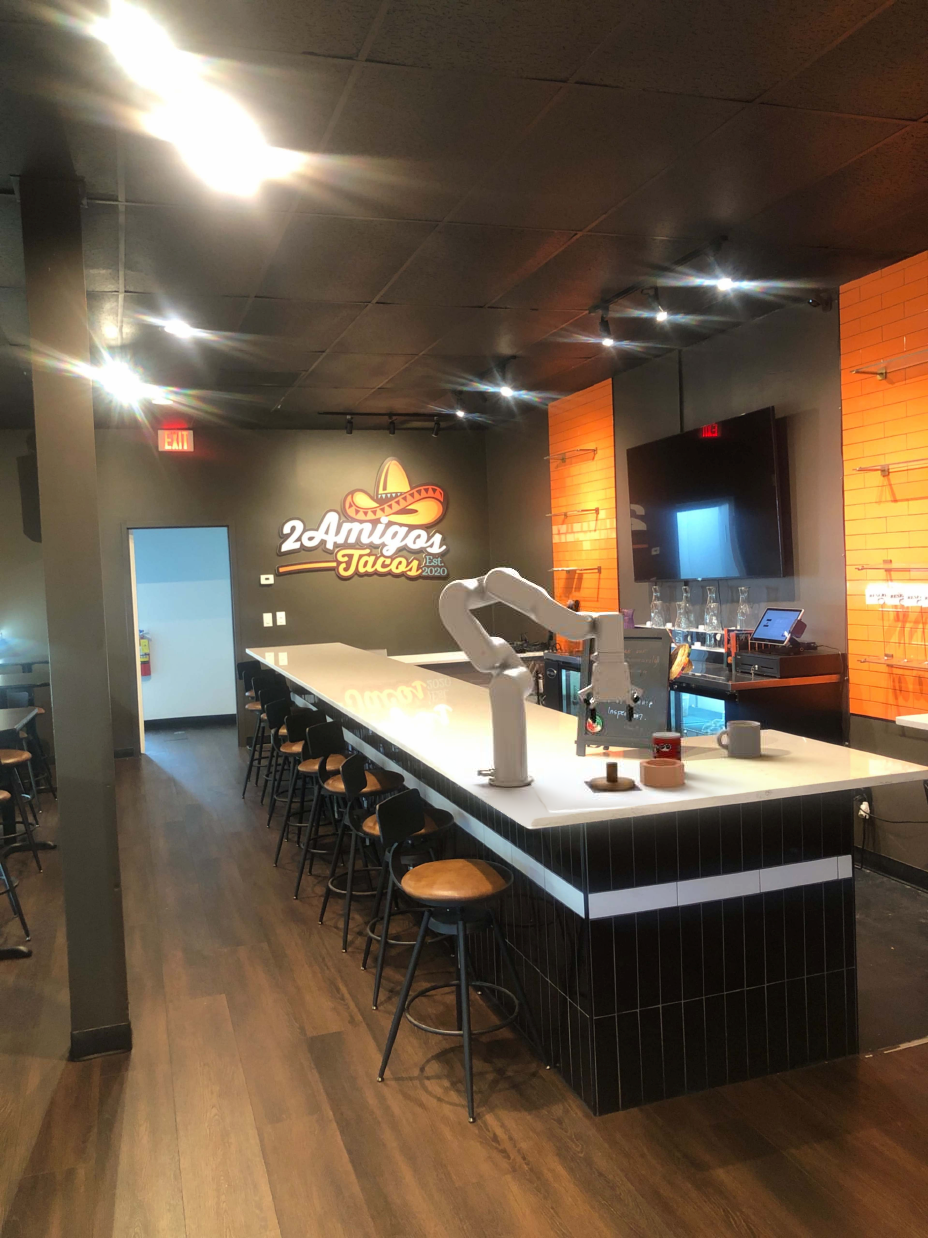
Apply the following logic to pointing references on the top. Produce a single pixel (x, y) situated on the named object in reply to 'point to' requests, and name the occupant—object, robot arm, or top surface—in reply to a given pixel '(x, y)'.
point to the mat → (611, 791)
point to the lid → (612, 780)
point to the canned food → (667, 745)
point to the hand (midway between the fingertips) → (611, 721)
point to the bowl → (662, 773)
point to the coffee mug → (741, 739)
